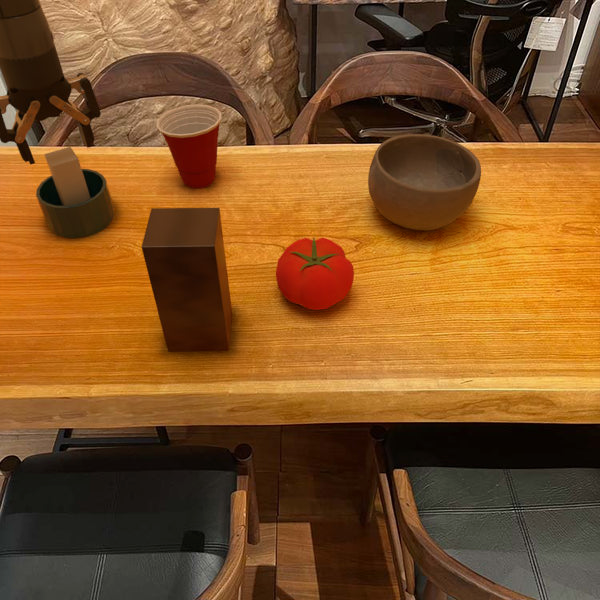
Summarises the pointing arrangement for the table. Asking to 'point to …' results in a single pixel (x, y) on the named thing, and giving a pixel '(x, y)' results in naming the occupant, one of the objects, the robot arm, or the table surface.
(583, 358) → the table surface
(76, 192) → the block
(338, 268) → the tomato
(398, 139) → the bowl
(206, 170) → the plastic cup
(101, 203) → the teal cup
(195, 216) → the pedestal
